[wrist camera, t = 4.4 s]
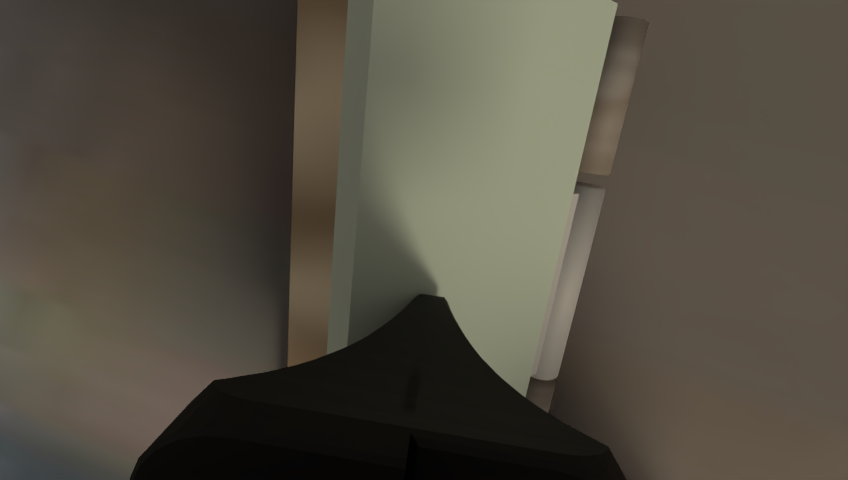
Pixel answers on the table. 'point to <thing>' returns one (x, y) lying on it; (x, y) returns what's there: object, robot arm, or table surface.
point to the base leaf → (320, 154)
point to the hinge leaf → (468, 171)
